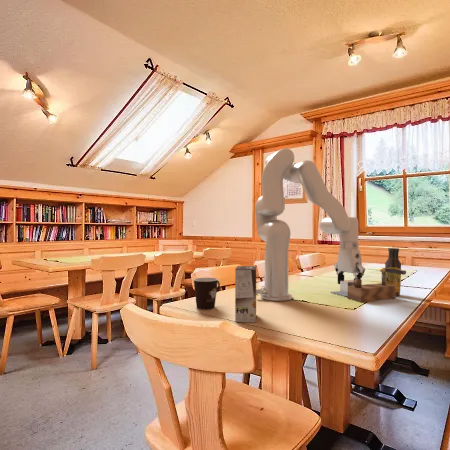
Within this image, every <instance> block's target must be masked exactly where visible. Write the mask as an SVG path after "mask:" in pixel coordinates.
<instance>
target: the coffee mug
mask: <svg viewBox="0 0 450 450" xmlns="http://www.w3.org/2000/svg"><path fill="white" fill-rule="evenodd" d="M193 285H194V286H193V287H194V294H195V303H196V309H198V310H204V311H207V310H213V309H215V307H216V299H217V298H216V297H217V293H218V292H219V289H220V288H221V283H220V281H219V279H218V278H216V277H197V278H194V279H193Z"/></svg>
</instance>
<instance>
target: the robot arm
mask: <svg viewBox="0 0 450 450" xmlns="http://www.w3.org/2000/svg"><path fill="white" fill-rule="evenodd" d="M264 165H265V166H264V168H263V170H262V174H261V196H260V197H258V199H256V202H255V207H254V209H255V210H254V211H255V221H256V222H255V224H256V230H257V234H258V237H259V238H260V239H261V240H262V241H263V242H265V247H264V285H262V287H261V288H260V289H259V288H256V295H260V298H261V299H263V300H266V301H272V302H283V301H285V302H286V301H291V300H292V299H293V294H291V293H289V247H290V241H291V228H290V226H289V224H288V223H287V222H286V221H284V220H282V219H278V216H281V215H282V214H283V213H284V211H285V209H286V208H285V206H286V205H285V204H286V203H285V194H284V193H285V192H284V180H286V181H288V182H290V183H294V184H301V187H302V188H303V191H304V193H305V195H306V197H307V198H308V200H309V202H310V203H312V204H314V205H316V206H317V207H320V208H321V209H322V210H323V211H324V212H325V213H326V214H327V215H328V216H326V217H324V218H323V219H322V220H321V221H320V224H319V227H320V230H321V231H322V232H323V233H324V234H327V235H339V249H338V254H337V262H335V263H334V264H333V265H334V266H333V267H334V270H335V272H336V276H337V284H338V285H340V281H344V280H345V273H349V274H353V277H354V278H353V280H354V286H355V279H361V280H362V278H363V276H364V275H365V271H366V268H365V267H364V266H362V265H363V263H362V254H361V251H360V249H359V247H360V244H359V220H358V218H357V217H355V216H348V213H347V210H346V209H345V207H344V205H342V203H341V202H340V201H339V200H338V199H337V198H336V197H335V196H334V195H333V194H332V193H331V192H330V190H329V189H328V188H327V186H326V184H325V182H324V180H323V177H322V176H321V174H320V171H319V169H318V168H317V165H316V164H315V162H313V161H312V160H308V159H307V160H303V161H299V162H297V163H296V162H295V153H294V152H293V150H292V149H290V148H281V149H279V150H277V151H275V152H274V153H272V154H270V155H269V156H268V157H267V158H266V159H265V162H264Z"/></svg>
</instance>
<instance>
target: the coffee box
mask: <svg viewBox="0 0 450 450" xmlns="http://www.w3.org/2000/svg"><path fill="white" fill-rule="evenodd" d="M234 272H235V274H234V275H235V279H234V280H235V281H234V282H235V283H234V284H235V285H234V286H235V287H234V289H235V291H234V292H235V294H234V295H235V297H234V298H235V301H234V303H235V305H234V306H235V307H234V308H235V309H234V311H235V312H234V313H235V315H234V316H235V317H234V322H236V323H256V318H257V317H256V316H257V294H256V289H257V266H256V265H254V266H253V265H237V267H235V271H234Z"/></svg>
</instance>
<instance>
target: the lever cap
mask: <svg viewBox="0 0 450 450" xmlns="http://www.w3.org/2000/svg"><path fill="white" fill-rule="evenodd" d="M348 286H354V279H346V280H345V279H344V281H340V284H339V291H340V292H341V293H344V294H348Z"/></svg>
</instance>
